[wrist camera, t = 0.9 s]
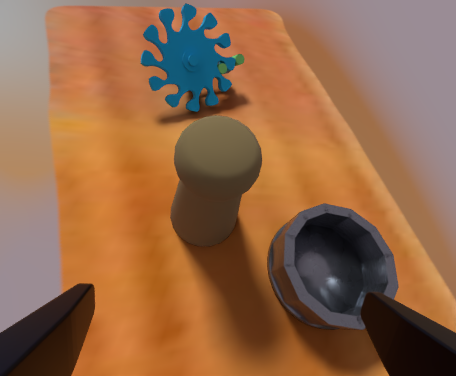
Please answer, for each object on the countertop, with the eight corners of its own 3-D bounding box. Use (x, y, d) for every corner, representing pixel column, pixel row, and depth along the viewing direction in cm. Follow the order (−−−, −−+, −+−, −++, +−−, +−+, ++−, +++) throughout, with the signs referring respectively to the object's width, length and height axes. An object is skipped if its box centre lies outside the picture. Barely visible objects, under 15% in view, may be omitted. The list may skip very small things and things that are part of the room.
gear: (147, 112, 26) (136, -8, 22) (139, 110, 31) (130, 12, 28) (245, 111, 30) (248, 11, 27) (224, 110, 35) (224, 25, 32)
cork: (246, 202, 25) (291, 129, 15) (218, 259, 22) (251, 212, 12) (191, 174, 25) (200, 84, 16) (156, 226, 22) (141, 155, 13)
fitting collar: (375, 337, 21) (409, 340, 18) (263, 319, 20) (279, 319, 17) (362, 227, 26) (388, 215, 23) (270, 209, 25) (284, 193, 22)
